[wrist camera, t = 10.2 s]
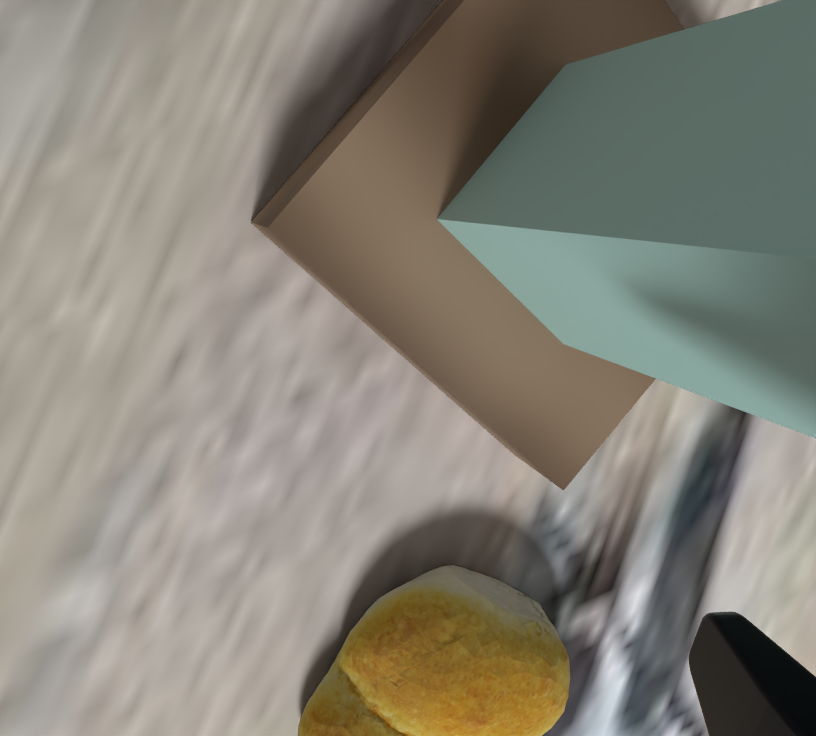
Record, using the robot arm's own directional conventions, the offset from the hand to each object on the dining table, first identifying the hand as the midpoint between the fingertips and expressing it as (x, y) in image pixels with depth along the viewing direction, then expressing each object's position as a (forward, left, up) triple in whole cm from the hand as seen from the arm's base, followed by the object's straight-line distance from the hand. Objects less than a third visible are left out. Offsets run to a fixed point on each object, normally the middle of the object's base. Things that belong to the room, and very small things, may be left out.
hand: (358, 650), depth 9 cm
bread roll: (-2, -12, -13) cm, 17 cm away
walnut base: (+10, -1, -12) cm, 16 cm away
